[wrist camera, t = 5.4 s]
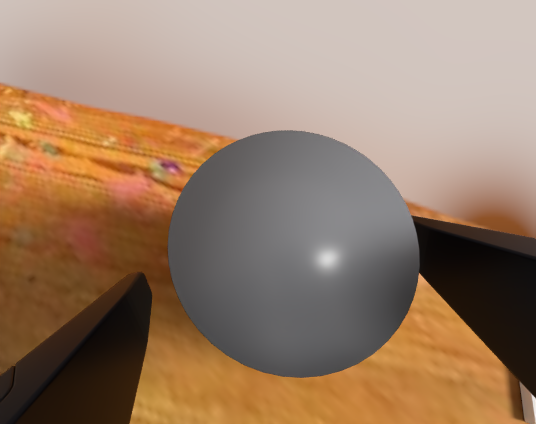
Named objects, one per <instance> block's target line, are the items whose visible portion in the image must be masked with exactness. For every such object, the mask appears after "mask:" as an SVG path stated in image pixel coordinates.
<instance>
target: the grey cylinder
mask: <svg viewBox="0 0 536 424" xmlns="http://www.w3.org/2000/svg"><path fill="white" fill-rule="evenodd" d="M168 259H169V267H170V272H171V277H172V281H173V284H174V287H175V290H176V293H177V295H178V298H179V300H180V302H181V304H182V306H183V308H184V309H185V311H186V313H187V315H188V316H189V318H190V319H191V320H192V322H193V323H194V325H195V326H196V327H197V329H198V330H199V331H200V332H201V333H202V334H203V335H204V336H205V337H206V338H207V339H208V340H209V341H210V342H211V343H212V344H213V345H214V346H216V347H217V348H218V349H219V350H221V351H222V352H223V353H225V354H226V355H227V356H229V357H231V358H233V359H234V360H236V361H238V362H240V363H241V364H243V365H245V366H248V367H251V368H253V369H256V370H258V371H261V372H264V373H269V374H273V375H278V376H283V377H299V378H304V377H315V376H323V375H327V374H331V373H335V372H339V371H342V370H344V369H347V368H349V367H351V366H354V365H356V364H358V363H360V362H361V361H363V360H364V359H366V358H368V357H369V356H371V355H372V354H374V353H375V352H376V351H377V350H378V349H379V348H381V347H382V346H383V345H384V344H385V343H386V342H387V341H388V340H389V339H390V338H391V336H392V335H393V334H394V333H395V332H396V330H397V329H398V328H399V326H400V325H401V323H402V321H403V320H404V318H405V316H406V315H407V313H408V310H409V308H410V306H411V303H412V301H413V298H414V295H415V291H416V287H417V283H418V275H419V266H420V263H419V245H418V239H417V233H416V230H415V226H414V223H413V219H412V217H411V214H410V212H409V210H408V207H407V205H406V203H405V201H404V200H403V198H402V196H401V194H400V193H399V191H398V190H397V188H396V187H395V186H394V184H393V183H392V181H391V180H390V179H389V178H388V177H387V176H386V175H385V173H384V172H383V171H382V170H381V169H380V168H379V167H378V166H376V165H375V164H374V163H373V162H372V161H371V160H369V159H368V158H367V157H365V156H364V155H363V154H361V153H360V152H358V151H357V150H355V149H353V148H351V147H350V146H348V145H346V144H344V143H341V142H339V141H337V140H335V139H332V138H329V137H326V136H323V135H319V134H314V133H309V132H303V131H272V132H265V133H260V134H256V135H252V136H249V137H246V138H243V139H240V140H238V141H236V142H234V143H232V144H230V145H228V146H226V147H224V148H223V149H221V150H220V151H218V152H217V153H215V154H214V155H213V156H211V157H210V158H209V159H208V160H207V161H206V162H204V163H203V164H202V165H201V166H200V167H199V169H198V170H197V171H196V172H195V173H194V174H193V175H192V177H191V178H190V180H189V181H188V182H187V184H186V185H185V187H184V189H183V191H182V193H181V195H180V196H179V198H178V200H177V203H176V206H175V209H174V211H173V214H172V219H171V223H170V228H169V236H168Z"/></svg>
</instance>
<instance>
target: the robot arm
mask: <svg viewBox="0 0 536 424" xmlns="http://www.w3.org/2000/svg"><path fill="white" fill-rule="evenodd" d="M411 217H412V219H413V223H414V226H415V230H416V233H417V239H418V245H419V263H420V266H419V273H420V274H421V275H422V276H423V278H424V279H425V280H426V281H427V282H428V283H429V284H430V285H431V286H432V287H433V288H434V290H435V291H436V292H437V293H438V294H439V295H440V296H441V297H442V298H443V299H444V300H445V301H446V302H447V304H448V305H449V306H450V307H451V308H452V309H453V310H454V311H455V312H456V313H457V314H458V315H459V316H460V318H461V319H462V320H463V321H464V322H465V323H466V324H467V325H468V326H469V327H470V328H471V329H472V331H473V332H474V333H475V334H476V335H477V336H478V337H479V338H480V339H481V340H482V341H483V342H484V343H485V345H486V346H487V347H488V348H489V349H490V350H491V351H492V352H493V353H494V354H495V355H496V356H497V357H498V359H499V360H500V361H501V362H502V363H503V364H504V365H505V366H506V367H507V368H508V369H509V370H510V371H511V373H512V374H513V375H514V376H515V377H516V378H517V379H518V380H519V381H520V382H521V383H522V384H523V385H524V387H525V388H526V389H527V390H528V391H529V392H530V393H531V394H532V395H533V396H534V397H535V398H536V239H535V238H530V237H525V236H520V235H515V234H509V233H504V232H498V231H493V230H488V229H482V228H477V227H471V226H466V225H461V224H455V223H450V222H444V221H439V220H434V219H428V218H423V217H417V216H412V215H411ZM151 305H152V292H151V289H150V287H149V284H148V282H147V279H146V277H145V275H144V273H142V272H137V273H132V274H129V275H127V276H126V277H124V278H123V279H122V280H121V281H119V282H118V283H117V284H116V285H114V286H113V287H112V288H111V289H109V290H108V291H107V292H106V293H104V294H103V295H102V296H101V297H99V298H98V299H97V300H95V301H94V302H93V303H92V304H90V305H89V306H88V307H87V308H85V309H84V310H83V311H82V312H80V313H79V314H78V315H77V316H75V317H74V318H73V319H71V320H70V321H69V322H68V323H66V324H65V325H64V326H63V327H61V328H60V329H59V330H58V331H56V332H55V333H54V334H53V335H51V336H50V337H49V338H48V339H46V340H45V341H44V342H42V343H41V344H40V345H39V346H37V347H36V348H35V349H34V350H32V351H31V352H30V353H29V354H27V355H26V356H25V357H24V358H22V359H21V360H20V361H18V362H17V363H16V365H15V366H12V367H11V368H9V369H8V370H7V371H6V372H4V373H3V374H2V375H1V376H0V424H129V423H130V419H131V415H132V410H133V406H134V401H135V397H136V392H137V388H138V383H139V379H140V374H141V370H142V366H143V361H144V357H145V352H146V347H147V342H148V334H149V325H150V315H151Z"/></svg>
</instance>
